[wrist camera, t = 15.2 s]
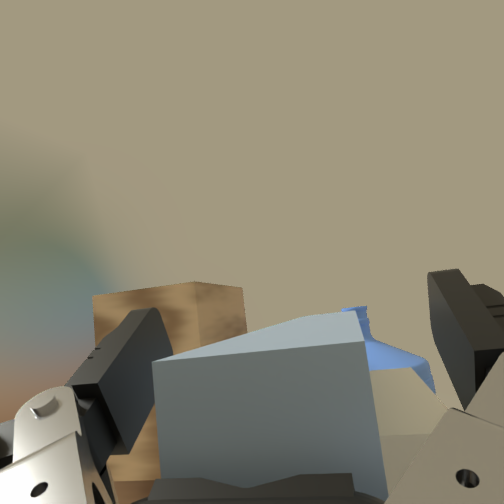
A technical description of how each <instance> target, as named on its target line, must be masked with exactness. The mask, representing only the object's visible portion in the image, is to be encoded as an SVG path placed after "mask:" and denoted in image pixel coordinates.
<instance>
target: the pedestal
mask: <svg viewBox="0 0 504 504" xmlns="http://www.w3.org/2000/svg"><path fill="white" fill-rule="evenodd" d="M369 372H370V379H371V385H372V392H373V398H374V405H375V411H376V417H377V424H378V430H379V437H380V443H381V450H382V456H383V463H384V469H385V476H386V482H387V489H388V495H390V494H391V492H392V491H393V489H394V488H395V487H396V485H397V484H398V482H399V481H400V479H401V478H402V476H403V475H404V473H405V472H406V470H407V469H408V467H409V466H410V464H411V463H412V461H413V460H414V458H415V457H416V455H417V454H418V452H419V451H420V449H421V448H422V446H423V445H424V443H425V442H426V440H427V439H428V437H429V436H430V434H431V433H432V431H433V430H434V428H435V427H436V425H437V424H438V422H439V421H440V419H441V418H442V416H443V415H444V414H445V412H446V411H447V410H448V409H447V407H446V406H445V405H444V404H443V403H442V402H441V401H440V399H439V398H438V397H437V396H436V395H435V394H434V393H433V392H432V390H431V389H430V388H429V387H428V386H427V385H426V384H425V383H424V381H423V380H422V379H421V378H420V377H419V376H418V375H417V374H416V372H415V371H414V370H413V369H412V368H411V367H408V368H396V369H384V370H372V371H369Z"/></svg>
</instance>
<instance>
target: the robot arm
mask: <svg viewBox="0 0 504 504" xmlns="http://www.w3.org/2000/svg"><path fill="white" fill-rule="evenodd" d="M427 279H428V295H429V308H430V320H431V329H432V333H433V338H434V341H435V344H436V346H437V349H438V351H439V354H440V356H441V358H442V361H443V363H444V365H445V367H446V370H447V372H448V374H449V377H450V379H451V381H452V383H453V386H454V388H455V390H456V392H457V395H458V397H459V400H460V402H461V404H462V407H463V409H464V412H463V411H461V410H458V409H456V408H450V409H448V410H447V411H446V412H445V414H444V415H443V416H442V418H441V419H440V421H439V422H438V424H437V425H436V427H435V428H434V430H433V431H432V433H431V434H430V436H429V437H428V439H427V440H426V442H425V443H424V445H423V446H422V448H421V449H420V451H419V452H418V454H417V455H416V457H415V458H414V460H413V461H412V463H411V464H410V466H409V467H408V469H407V470H406V472H405V473H404V475H403V476H402V478H401V479H400V481H399V482H398V484H397V485H396V487H395V488H394V489H393V491H392V492H391V494H390V495H389V497H388V498H387V500H386V501H383V500H381V499H379V498H377V497H374V496H371V495H368V494H365V493H361V492H357V491H355V488H354V483H353V477H352V473H330V474H299V475H296V476H292V477H288V478H284V479H280V480H277V481H273V482H269V483H265V484H262V485H258V486H254V487H250V488H242V487H237V486H233V485H229V484H225V483H221V482H217V481H213V480H208V479H204V478H200V477H199V478H167V479H155V481H154V484H153V486H152V489H151V491H150V494H149V496H148V497H145V498H142V499H140V500H137V501H135V502H132V503H130V504H504V297H503V295H502V294H501V293H500V292H498V291H496V290H494V289H492V288H490V287H488V286H486V285H484V284H479V285H470V284H469V283H468V281H467V280H466V279H465V277H464V276H463V274H462V273H461V272H460V270H459V269H451V270H443V271H435V272H429V273H428V276H427ZM170 356H173V349H172V346H171V343H170V340H169V337H168V334H167V332H166V329H165V326H164V323H163V320H162V317H161V314H160V312H159V310H158V309H157V308H155V307H152V308H144V309H136V310H131V311H130V312H129V313H128V314H127V316H126V317H125V318H124V319H123V321H122V322H121V323H120V325H119V326H118V327H117V328H116V329H114V330H113V331H112V332H110V333H109V334H108V335H106V336H105V337H104V338H103V339H102V340H101V341H100V343H99V344H98V345H97V346H96V347H95V350H93V351H92V352H91V354H90V355H89V356H88V359H86V360H85V361H84V362H83V363H82V365H81V366H80V367H79V368H78V370H77V371H76V372H75V373H74V374H73V376H72V377H71V378H70V380H69V381H68V382H67V383H66V384H65V385H64V386H61V387H55V388H51V389H48V390H46V391H43V392H41V393H39V394H38V395H36V396H34V397H33V398H31V399H30V400H29V401H27V402H26V403H25V404H24V405H23V406H22V407H21V408H20V410H19V411H18V412H17V414H16V416H15V419H13V420H10V421H7V422H3V423H0V504H119V501H118V497H117V493H116V489H115V485H114V482H113V478H112V474H111V471H110V468H109V466H108V464H107V460H108V458H109V457H110V455H129V454H130V452H131V450H132V448H133V446H134V444H135V442H136V440H137V438H138V436H139V434H140V432H141V430H142V428H143V426H144V424H145V422H146V420H147V418H148V416H149V414H150V412H151V410H152V408H153V406H154V404H155V397H154V384H153V372H152V362H153V361H156V360H160V359H163V358H166V357H170Z"/></svg>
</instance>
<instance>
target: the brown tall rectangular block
mask: <svg viewBox="0 0 504 504" xmlns="http://www.w3.org/2000/svg"><path fill="white" fill-rule="evenodd" d="M152 307H155V308H157V309H158V310H159V312H160V314H161V317H162V320H163V323H164V326H165V329H166V332H167V334H168V337H169V340H170V343H171V346H172V349H173V355H176V354H180V353H183V352H186V351H190V350H193V349H196V348H200V347H203V346H207V345H210V344H213V343H217V342H220V341H223V340H227V339H230V338H233V337H237V336H240V335H243V334H247V325H246V317H245V308H244V299H243V290H242V288H241V287H233V286H225V285H217V284H209V283H202V282H188V283H181V284H174V285H166V286H160V287H153V288H145V289H138V290H132V291H124V292H117V293H110V294H103V295H95V296H93V313H94V328H95V345H96V346H97V345H98V344H99V343H100V341H101V340H102V339H103V338H104V337H105V336H106V335H108V334H109V333H110V332H112V331H113V330H114V329H116V328H117V327H118V326H119V325H120V323H121V322H122V321H123V319H124V318H125V317H126V316H127V314H128V313H129V312H130V311H131V310H136V309H144V308H152ZM107 464H108V466H109V468H110V471H111V474H112V478H113V482H114V485H115V489H116V493H117V497H118V501H119V504H130V503H132V502H135V501H137V500H140V499H142V498H145V497H148V496H149V494H150V491H151V489H152V486H153V484H154V481H155V479H161V472H160V459H159V447H158V434H157V422H156V409H155V404H154V406H153V408H152V410H151V412H150V414H149V416H148V418H147V420H146V422H145V424H144V426H143V428H142V430H141V432H140V434H139V436H138V438H137V440H136V442H135V444H134V446H133V448H132V450H131V452H130V454H129V455H110V457H109V458H108V460H107Z"/></svg>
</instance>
